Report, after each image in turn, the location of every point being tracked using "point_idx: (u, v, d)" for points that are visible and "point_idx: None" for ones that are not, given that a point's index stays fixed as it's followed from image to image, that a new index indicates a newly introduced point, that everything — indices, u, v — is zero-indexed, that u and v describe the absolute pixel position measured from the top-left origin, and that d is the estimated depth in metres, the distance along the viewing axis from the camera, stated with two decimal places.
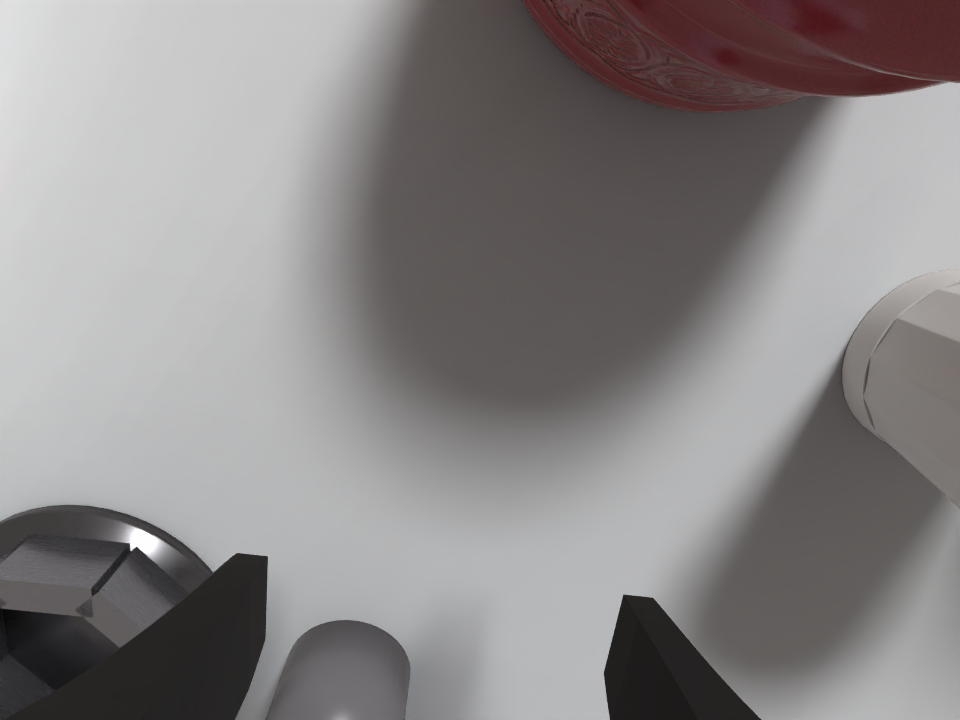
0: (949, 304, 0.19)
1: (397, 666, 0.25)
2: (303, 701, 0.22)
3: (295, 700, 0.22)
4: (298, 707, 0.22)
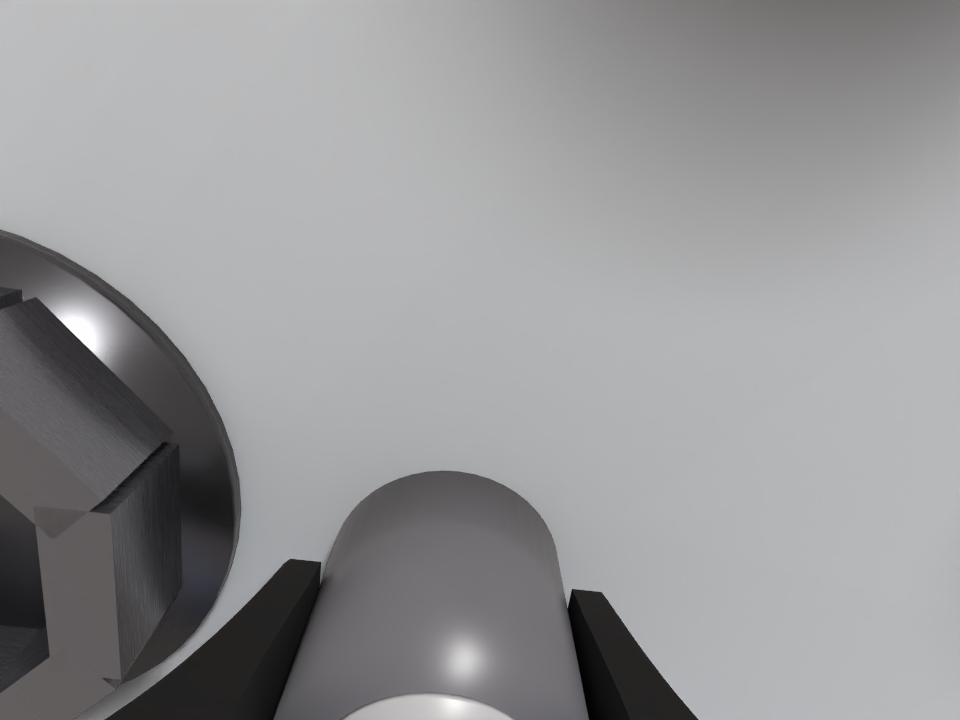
0: None
1: (549, 554, 0.13)
2: (386, 598, 0.10)
3: (367, 598, 0.10)
4: (377, 609, 0.10)
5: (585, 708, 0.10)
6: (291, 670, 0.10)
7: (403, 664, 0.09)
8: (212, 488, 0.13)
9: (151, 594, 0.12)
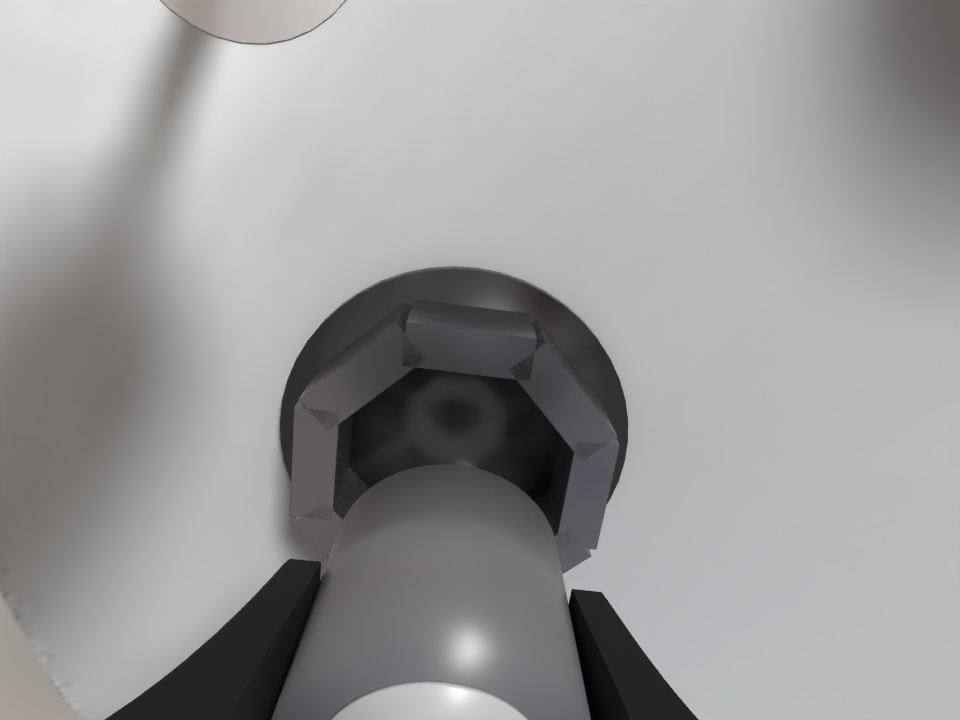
0: None
1: (549, 546, 0.13)
2: (386, 588, 0.10)
3: (368, 588, 0.10)
4: (377, 599, 0.10)
5: (585, 697, 0.10)
6: (292, 660, 0.10)
7: (404, 652, 0.09)
8: (616, 438, 0.20)
9: None
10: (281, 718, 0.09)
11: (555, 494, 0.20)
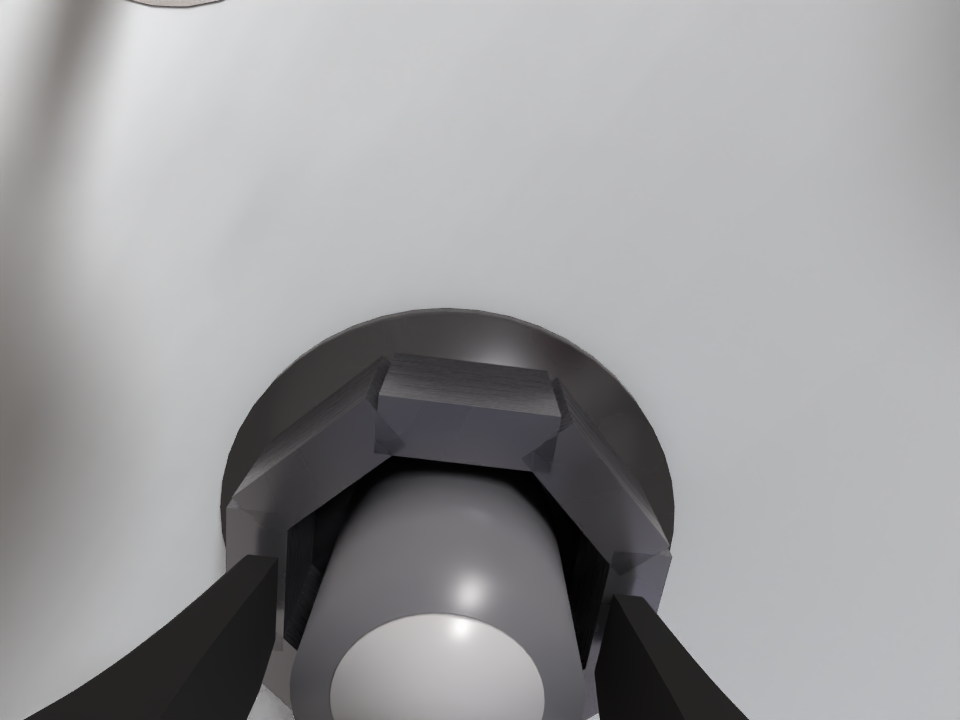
0: None
1: (544, 509, 0.14)
2: (398, 537, 0.11)
3: (382, 537, 0.11)
4: (390, 545, 0.11)
5: (573, 632, 0.11)
6: (315, 602, 0.12)
7: (414, 586, 0.10)
8: None
9: None
10: (307, 647, 0.11)
11: (580, 606, 0.15)
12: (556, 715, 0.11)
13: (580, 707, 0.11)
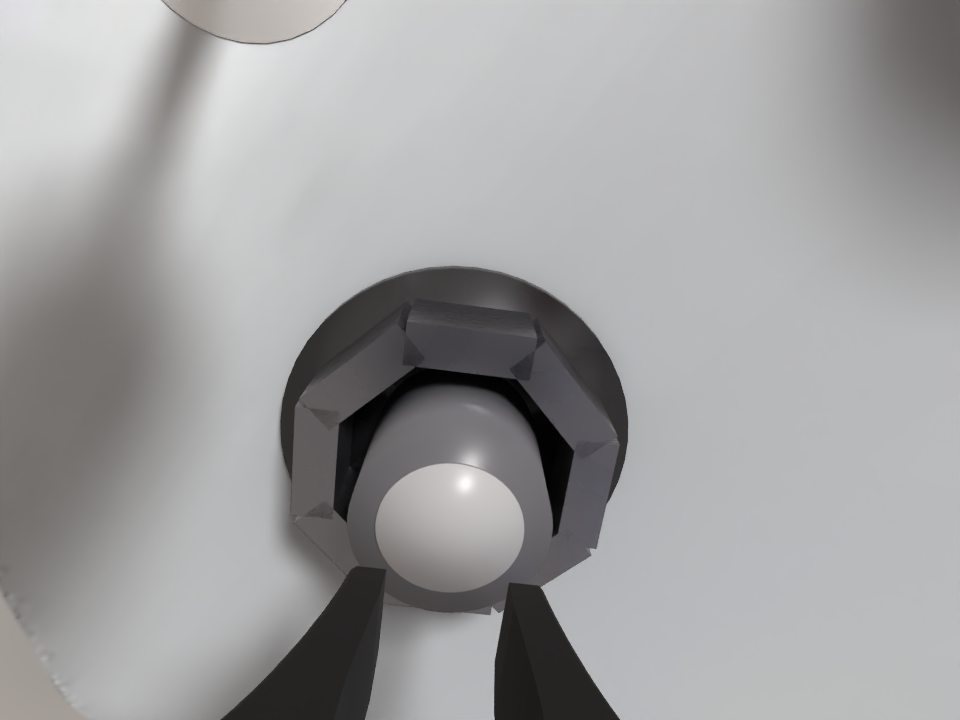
0: None
1: (527, 416, 0.19)
2: (422, 418, 0.16)
3: (410, 420, 0.16)
4: (416, 423, 0.16)
5: (545, 485, 0.16)
6: (362, 467, 0.16)
7: (435, 443, 0.15)
8: (616, 437, 0.20)
9: None
10: (360, 489, 0.15)
11: (555, 493, 0.20)
12: (533, 541, 0.16)
13: (549, 534, 0.16)
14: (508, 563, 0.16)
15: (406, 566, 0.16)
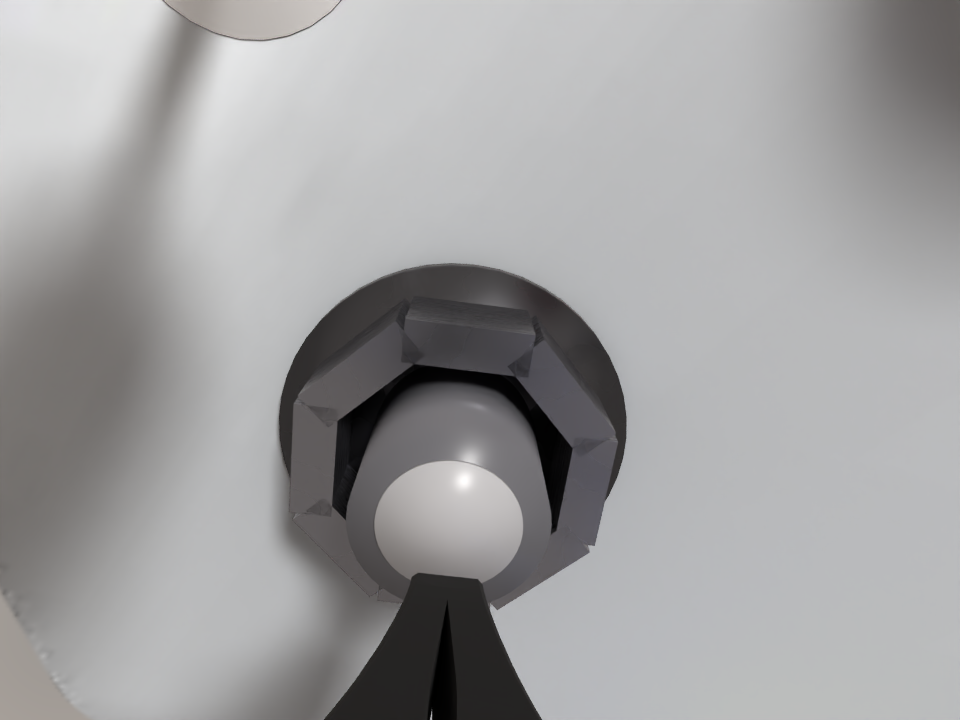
0: None
1: (525, 413, 0.19)
2: (420, 415, 0.16)
3: (408, 417, 0.16)
4: (415, 420, 0.16)
5: (544, 482, 0.16)
6: (360, 465, 0.16)
7: (433, 441, 0.15)
8: (615, 434, 0.20)
9: None
10: (359, 486, 0.15)
11: (554, 490, 0.20)
12: (531, 538, 0.16)
13: (548, 531, 0.16)
14: (507, 560, 0.16)
15: (405, 563, 0.16)
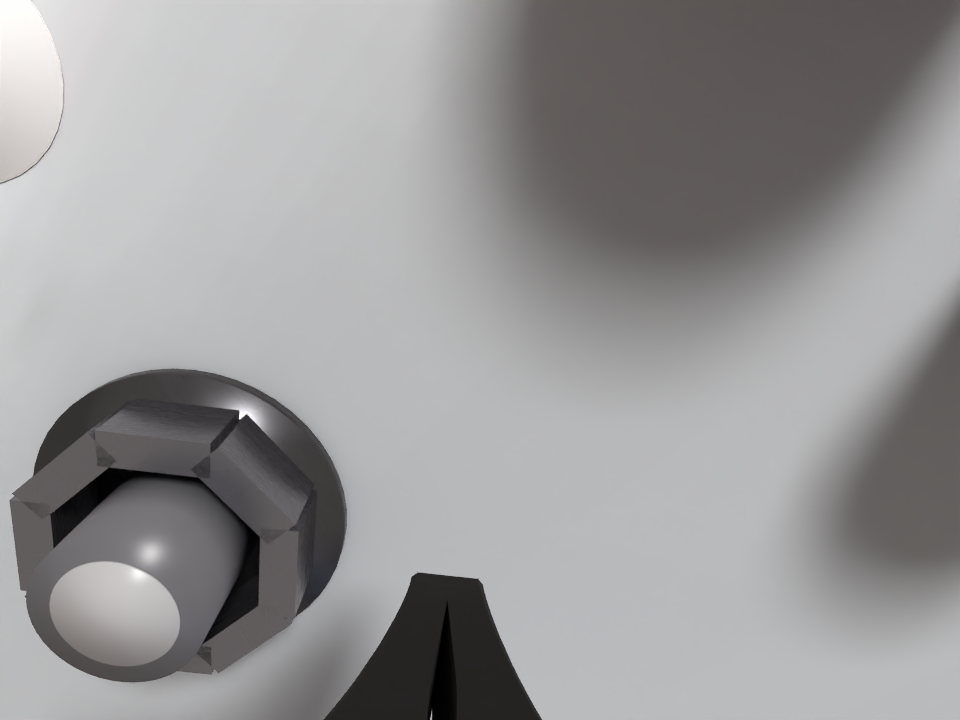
0: None
1: None
2: (98, 517, 0.18)
3: (91, 518, 0.19)
4: (90, 522, 0.18)
5: (204, 574, 0.18)
6: None
7: (89, 545, 0.17)
8: (333, 515, 0.23)
9: (304, 574, 0.22)
10: (33, 582, 0.18)
11: None
12: (191, 624, 0.18)
13: (204, 618, 0.18)
14: (173, 642, 0.18)
15: (85, 644, 0.19)
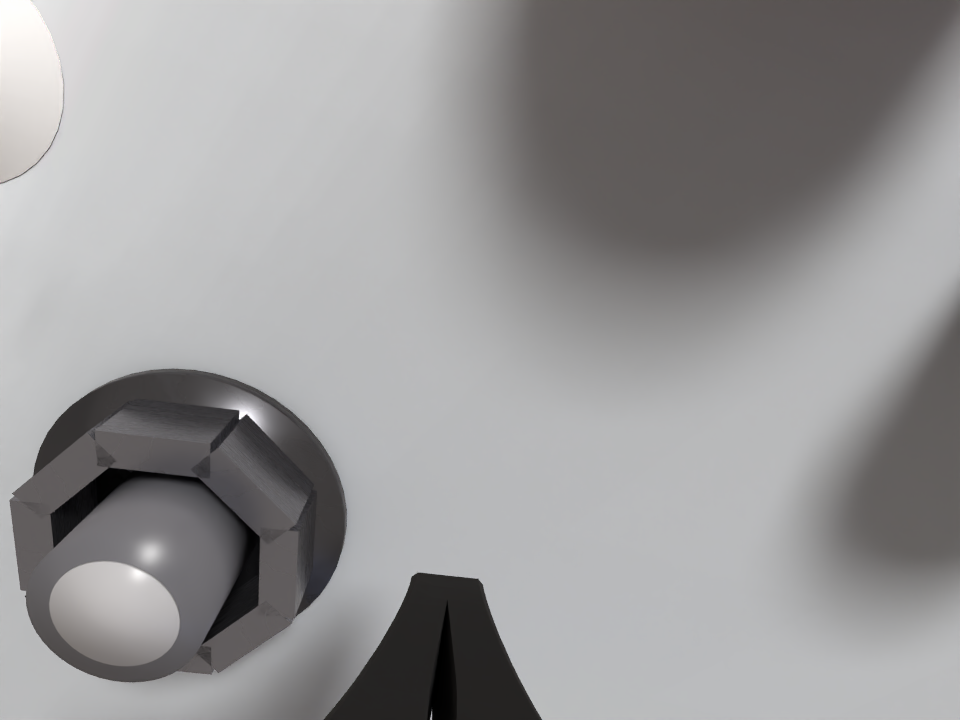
0: None
1: None
2: (98, 517, 0.18)
3: (91, 518, 0.19)
4: (90, 522, 0.18)
5: (204, 574, 0.18)
6: None
7: (88, 545, 0.17)
8: (333, 515, 0.23)
9: (304, 574, 0.22)
10: (33, 581, 0.18)
11: None
12: (190, 624, 0.18)
13: (203, 618, 0.18)
14: (172, 642, 0.18)
15: (85, 644, 0.19)
